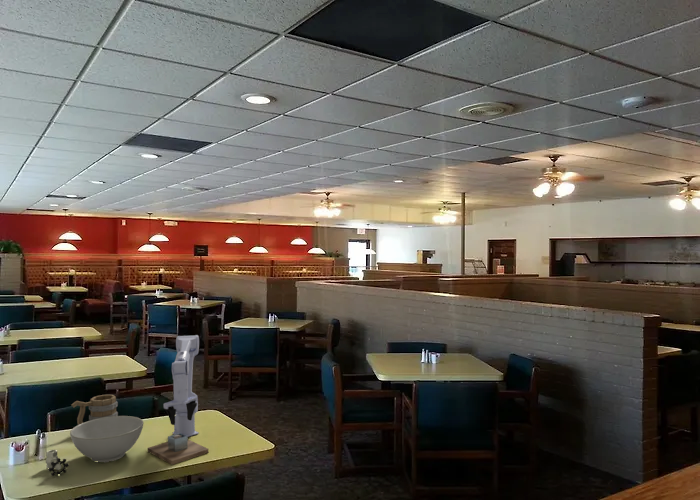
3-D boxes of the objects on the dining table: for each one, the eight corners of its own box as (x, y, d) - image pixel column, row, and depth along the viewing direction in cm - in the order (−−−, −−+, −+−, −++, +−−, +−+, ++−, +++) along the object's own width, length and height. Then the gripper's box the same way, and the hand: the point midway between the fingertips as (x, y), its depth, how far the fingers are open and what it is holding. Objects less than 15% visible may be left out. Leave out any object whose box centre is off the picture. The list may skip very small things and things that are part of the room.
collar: (168, 448, 217) (167, 436, 217) (180, 444, 221) (180, 432, 221) (174, 452, 213) (174, 439, 213) (187, 448, 217) (187, 436, 217)
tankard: (113, 421, 257) (112, 390, 257) (122, 427, 248) (121, 395, 248) (67, 431, 244) (67, 398, 244) (76, 438, 234) (75, 404, 234)
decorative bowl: (73, 450, 221) (72, 421, 221) (142, 440, 231) (142, 412, 231) (67, 475, 196) (66, 443, 196) (145, 463, 207) (144, 432, 207)
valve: (40, 469, 203) (49, 479, 194) (40, 452, 202) (48, 461, 194) (60, 464, 207) (69, 473, 198) (59, 447, 207) (68, 456, 198)
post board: (147, 451, 218) (147, 435, 218) (183, 440, 230) (182, 425, 230) (171, 464, 205) (171, 447, 205) (208, 452, 216) (208, 436, 216)
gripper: (169, 394, 215) (169, 428, 215) (201, 387, 225) (201, 419, 225) (160, 391, 220) (161, 424, 220) (192, 385, 230) (193, 416, 230)
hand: (181, 422), depth 223 cm, fingers open, 7 cm apart
